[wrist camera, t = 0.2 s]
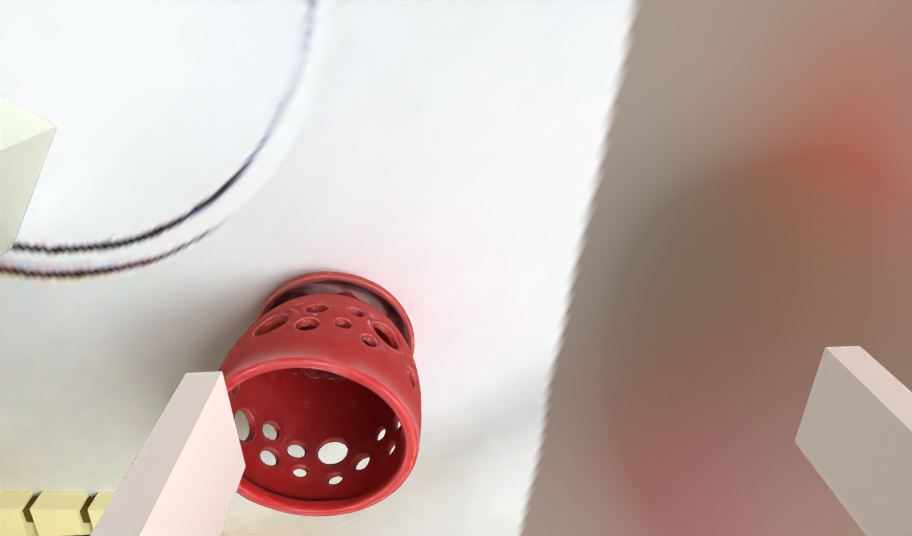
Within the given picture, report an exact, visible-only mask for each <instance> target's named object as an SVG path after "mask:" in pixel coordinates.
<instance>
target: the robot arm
mask: <svg viewBox="0 0 912 536" xmlns="http://www.w3.org/2000/svg"><path fill="white" fill-rule="evenodd" d="M795 443H796V444H797V445H798V447H799V448H800V449H801V451H802V452H803V453H804V455H805V456H806V457H807V458H808V460H809V461H810V462H811V464H812V465H813V466H814V468H815V469H816V470H817V472H818V473H819V474H820V476H821V477H822V478H823V480H824V481H825V482H826V484H827V485H828V486H829V487H830V489H831V490H832V491H833V493H834V494H835V495H836V497H837V498H838V499H839V501H840V502H841V503H842V504H843V506H844V507H845V508H846V510H847V511H848V512H849V513H850V515H851V516H852V518H853V519H854V520H855V521H856V523H857V524H858V525H859V527H860V528H861V529H862V531H863V532H864V533H865V535H866V536H912V392H911V391H909V390H908V389H907V388H906V387H905V386H904V385H903V384H902V383H900V382H899V381H898V380H897V379H896V378H895V377H894V376H893V375H891V374H890V373H889V372H888V371H887V370H886V369H885V368H883V366H881V365H880V364H879V363H878V362H877V361H876V360H875V359H873V358H872V357H871V356H870V355H869V354H868V353H867V352H866V351H865V350H863V349H862V348H861V347H860V346H846V347H826V348H825V350H824V353H823V356H822V359H821V363H820V365H819V368H818V371H817V375H816V378H815V381H814V384H813V387H812V390H811V393H810V396H809V399H808V402H807V405H806V408H805V411H804V414H803V418H802V421H801V424H800V427H799V430H798V433H797V436H796V439H795ZM245 466H246V465H245V461H244V457H243V453H242V449H241V445H240V441H239V437H238V433H237V429H236V425H235V421H234V417H233V413H232V409H231V405H230V401H229V397H228V393H227V389H226V385H225V381H224V377H223V373H222V371H217V372H192V373H185V375H184V377H183V378H182V380H181V382H180V384H179V385H178V387H177V389H176V390H175V392H174V394H173V395H172V397H171V399H170V401H169V402H168V404H167V406H166V407H165V409H164V411H163V412H162V414H161V416H160V418H159V419H158V421H157V423H156V424H155V426H154V428H153V429H152V431H151V433H150V434H149V436H148V438H147V440H146V441H145V443H144V445H143V446H142V448H141V450H140V451H139V453H138V455H137V457H136V458H135V460H134V462H133V463H132V465H131V467H130V468H129V470H128V472H127V474H126V475H125V477H124V479H123V480H122V482H121V484H120V485H119V487H118V489H117V491H116V492H115V494H114V496H113V497H112V499H111V501H110V502H109V504H108V506H107V507H106V509H105V511H104V513H103V514H102V516H101V518H100V519H99V521H98V523H97V524H96V526H95V528H94V530H93V531H92V533H91V535H70V536H220V535H221V533H222V530H223V527H224V524H225V522H226V519H227V516H228V513H229V511H230V508H231V505H232V502H233V500H234V497H235V494H236V491H237V489H238V486H239V483H240V480H241V477H242V475H243V472H244V469H245Z"/></svg>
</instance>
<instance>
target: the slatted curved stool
mask: <svg viewBox="0 0 912 536" xmlns="http://www.w3.org/2000/svg"><path fill="white" fill-rule="evenodd" d="M114 494H115V492H98V494H97V495H96V497H95V498H89V496H88V493H87V492H42V493H41V494H40V495H39V497H33V495H32V493H31V491H0V536H70V535H91V533H92V531H93V530H94V528H95V526H96V524H97V523H98V521H99V519H100V518H101V516H102V514H103V513H104V511H105V509H106V507H107V506H108V504H109V502H110V501H111V499H112V497H113V496H114Z"/></svg>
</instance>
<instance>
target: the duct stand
mask: <svg viewBox="0 0 912 536" xmlns="http://www.w3.org/2000/svg"><path fill="white" fill-rule="evenodd" d="M56 128H57V125H55V124H53V123H51V122H50V121H48V120H46V119H44V118H42V117H40V116H38V115H36V114H35V113H33V112H31V111H29V110H27V109H25V108H23V107H21V106H20V105H18V104H16V103H14V102H12V101H10V100H8V99H6V98H4V97H3V96H1V95H0V255H2V254H3V253H5V252H6V251H8V250H9V249H10V248H12V247H13V245H14V242H15V239H16V236H17V234H18V231H19V228H20V226H21V223H22V220H23V218H24V215H25V212H26V209H27V207H28V204H29V201H30V199H31V196H32V193H33V191H34V188H35V185H36V182H37V180H38V177H39V174H40V172H41V169H42V166H43V164H44V161H45V158H46V155H47V153H48V150H49V147H50V145H51V142H52V139H53V137H54V134H55V131H56Z"/></svg>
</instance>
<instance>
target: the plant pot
mask: <svg viewBox="0 0 912 536" xmlns="http://www.w3.org/2000/svg"><path fill="white" fill-rule="evenodd" d="M413 353H414V333H413V328H412V325H411V322H410V320H409V318H408V315H407V314H406V312H405V310H404V309H403V307H402V306H401V305H400V303H399V302H398V301H397V300H396V299H395V298H394V297H393V296H392V295H391V294H390V293H389V292H388V291H387V290H385V289H384V288H383V287H381V286H379V285H378V284H376V283H374V282H372V281H369V280H367V279H364V278H362V277H359V276H355V275H351V274H346V273H339V272H319V273H313V274H308V275H304V276H301V277H298V278H296V279H293V280H291V281H290V282H288V283H286V284H285V285H283V286H282V287H280V288H279V289H278V290H277V291H275V292H274V293H273V294H272V295H271V296H270V297H269V299H268V300H267V301H266V302H265V304H264V305H263V307H262V309H261V311H260V313H259V315H258V318H257V321H256V322H255V323H254V324H253V325H252V326H251V327H250V328H249V329H248V330H247V331H246V332H245V333H244V334H243V335H242V336H241V338H240V339H239V340H238V341H237V343H236V344H235V345H234V347H233V348H232V349H231V351H230V352H229V354H228V355H227V357H226V358H225V360H224V362H223V363H222V365H221V367H220V368H219V370H218V371H222V373H223V377H224V381H225V385H226V389H227V393H228V397H229V401H230V405H231V409H232V413H233V417H234V418H235V414H236V412H237V411H238V410H241V411H243V412H244V414H245V415H246V417H247V420H248V422H249V435H248V437H247V439H246V440H245V441H242V440H240V439H239V441H240V445H241V449H242V453H243V457H244V461H245V465H246V466H245V469H244V472H243V475H242V477H241V480H240V483H239V486H238V489H237V491H236V492H237V493H238V494H240V495H241V496H243V497H245V498H246V499H248V500H250V501H252V502H255V503H257V504H259V505H262V506H265V507H268V508H271V509H274V510H277V511H281V512H285V513H290V514H295V515H304V516H332V515H340V514H347V513H352V512H355V511H359V510H362V509H365V508H367V507H370V506H372V505H374V504H376V503H378V502H380V501H382V500H383V499H385V498H386V497H388V496H389V495H391V494H392V493H393V492H395V491H396V490H397V489H398V488H399V487H400V486H401V485H402V484H403V483H404V481H405V480H406V479H407V477H408V476H409V474H410V473H411V471H412V469H413V467H414V465H415V462H416V459H417V456H418V451H419V442H420V432H421V392H420V384H419V378H418V373H417V369H416V365H415V362H414V359H413ZM234 421H235V420H234ZM398 422H400V424H401V425H400V427H399V428H398ZM264 424H270V425H272V426H273V427H274V428H275V430H276V432H277V437H276V439H275V440H270V439H268V438H266V437H265V436H264V434H263V432H262V428H263V425H264ZM384 429H385V435H384V437H383V438H382V439H381V440H379V441H378V436H379V434H380V432H381V431H382V430H384ZM330 442H340V443H343V444H344V445H346V447H347V448H348V452H347V455H346V457H345V458H344V459H343V460H342V461H340V462H338V463H335V464H325V463H323V462H322V461H321V460H320V459H319V458H318V452H319V449H320V448H321V447H322V446H323V445H325V444H327V443H330ZM290 445H299V446H301V447H302V448H303V449H304V451H305V455H304V456H303V457H301V458H297V457H293V456H291V455H289V453H288V452H287V449H288V447H289V446H290ZM394 446H395V449H394V451H393V452H392V453H391V454H390V451H391V449H392V448H393V447H394ZM264 450H266V451H269V452H271V453H272V454H273V455H274V456H275V458H276V464H275V465H273V466H271V465H267V464H265V463H263V462H262V460H261V458H260V453H261V452H262V451H264ZM368 457H370V460H369V463H368V465H367V466H366V467H365V468H364V469H362V470H356V466H357V465H358V463H359V462H360V461H361V460H363V459H365V458H368ZM296 469H302V470H305V471H306V473H307V474H306V476H304V477H298V476H295V475H294V474H293V471H294V470H296ZM337 476H340V477H342V478H343V479H342V480H341V481H340V482H339V483H337V484H329V481H330V479H332V478H333V477H337Z"/></svg>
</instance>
